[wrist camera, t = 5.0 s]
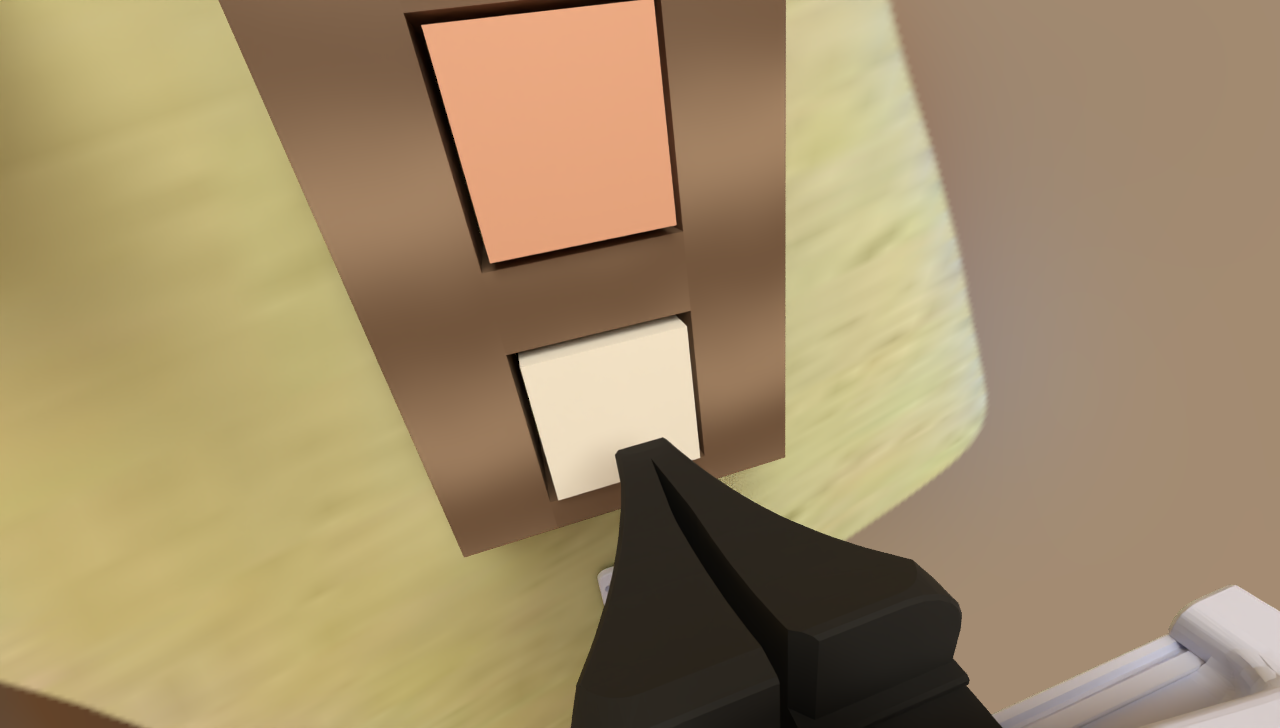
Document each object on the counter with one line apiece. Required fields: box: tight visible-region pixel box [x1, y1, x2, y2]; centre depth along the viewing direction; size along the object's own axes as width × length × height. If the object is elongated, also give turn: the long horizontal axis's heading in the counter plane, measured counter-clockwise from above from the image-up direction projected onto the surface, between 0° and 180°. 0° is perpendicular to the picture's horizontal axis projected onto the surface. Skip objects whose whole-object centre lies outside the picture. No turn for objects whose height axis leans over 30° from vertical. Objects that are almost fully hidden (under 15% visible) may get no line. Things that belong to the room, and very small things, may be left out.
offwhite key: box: [518, 315, 700, 501], centre depth 16 cm, size 5×5×2 cm
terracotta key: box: [421, 0, 677, 263], centre depth 13 cm, size 5×5×2 cm
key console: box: [219, 0, 786, 557], centre depth 15 cm, size 16×12×4 cm
